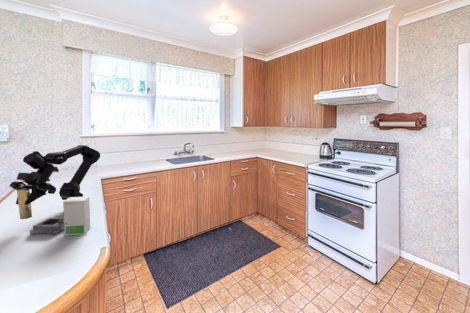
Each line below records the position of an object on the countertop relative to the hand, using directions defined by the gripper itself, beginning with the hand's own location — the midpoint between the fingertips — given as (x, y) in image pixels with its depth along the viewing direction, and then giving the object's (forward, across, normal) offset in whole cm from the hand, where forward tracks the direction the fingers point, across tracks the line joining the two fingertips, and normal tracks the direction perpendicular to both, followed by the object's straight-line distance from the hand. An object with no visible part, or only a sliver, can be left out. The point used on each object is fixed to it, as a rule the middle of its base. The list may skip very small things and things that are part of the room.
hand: (21, 204), depth 98 cm
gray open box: (+7, +11, +11) cm, 17 cm away
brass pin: (+4, 0, +6) cm, 7 cm away
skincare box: (+7, +24, +11) cm, 27 cm away
